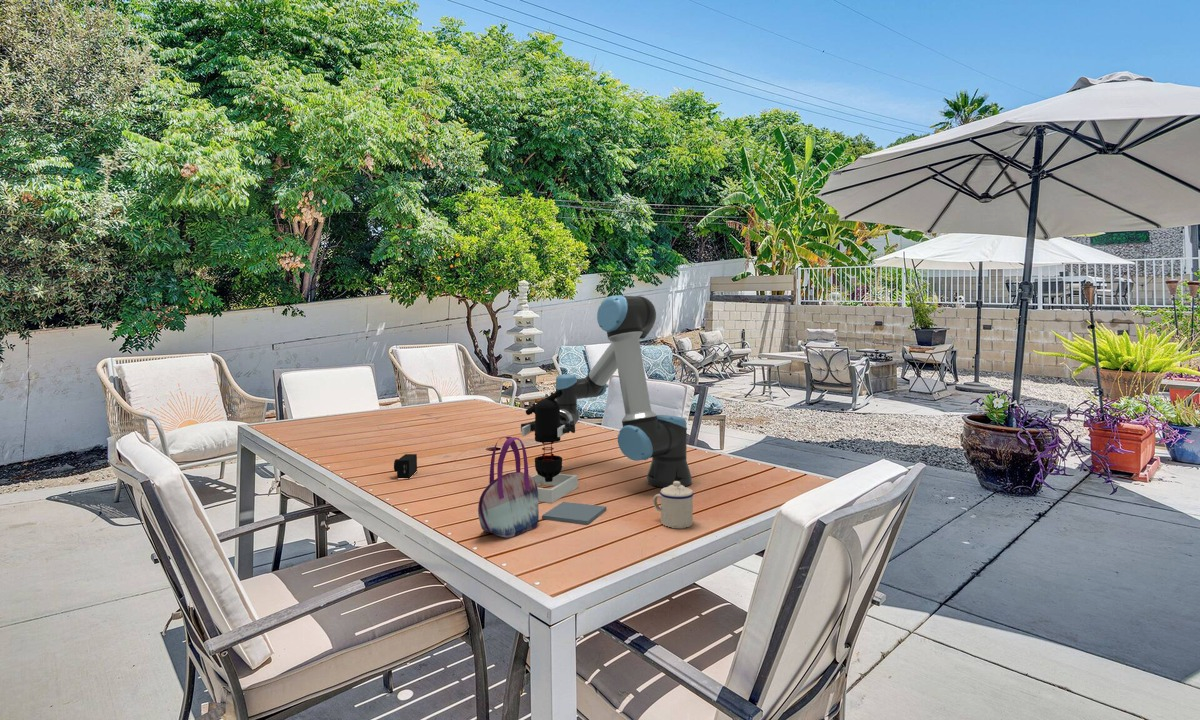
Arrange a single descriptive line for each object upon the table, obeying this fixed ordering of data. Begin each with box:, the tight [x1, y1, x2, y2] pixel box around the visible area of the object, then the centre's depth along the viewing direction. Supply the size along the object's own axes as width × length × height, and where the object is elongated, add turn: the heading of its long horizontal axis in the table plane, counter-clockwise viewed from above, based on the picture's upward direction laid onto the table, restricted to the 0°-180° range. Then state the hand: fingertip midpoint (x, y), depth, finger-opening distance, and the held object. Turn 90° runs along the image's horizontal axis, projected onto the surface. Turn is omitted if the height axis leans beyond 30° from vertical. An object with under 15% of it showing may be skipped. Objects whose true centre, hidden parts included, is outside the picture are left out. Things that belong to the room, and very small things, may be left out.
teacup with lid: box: [652, 481, 694, 529], centre depth 170 cm, size 12×9×12 cm
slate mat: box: [541, 501, 607, 526], centre depth 178 cm, size 14×14×1 cm
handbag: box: [477, 436, 540, 538], centre depth 165 cm, size 21×10×25 cm, turn 143°
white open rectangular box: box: [530, 472, 579, 504], centre depth 200 cm, size 14×19×4 cm
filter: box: [525, 390, 563, 482], centre depth 199 cm, size 14×9×30 cm
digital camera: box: [393, 453, 418, 479], centre depth 223 cm, size 10×5×7 cm, turn 1°
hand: (540, 432), depth 195 cm, fingers closed on filter, 11 cm apart
